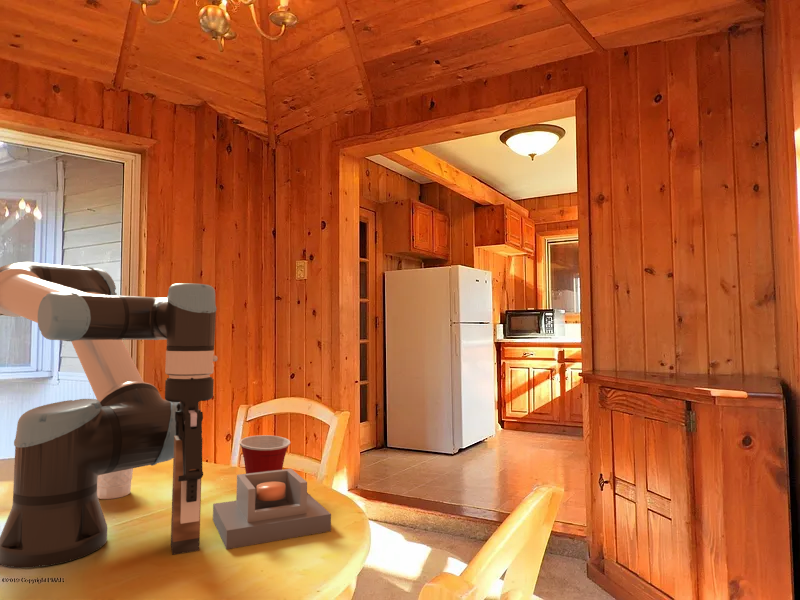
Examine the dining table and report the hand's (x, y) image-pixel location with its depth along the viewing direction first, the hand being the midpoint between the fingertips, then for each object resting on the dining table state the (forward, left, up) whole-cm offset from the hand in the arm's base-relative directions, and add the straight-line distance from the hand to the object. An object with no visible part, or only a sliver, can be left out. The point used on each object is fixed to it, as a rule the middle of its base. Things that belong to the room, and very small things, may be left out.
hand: (185, 510), depth 88 cm
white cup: (-11, +37, -6) cm, 39 cm away
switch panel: (+15, +4, -6) cm, 17 cm away
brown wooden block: (0, 0, -6) cm, 6 cm away
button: (+15, +4, -1) cm, 16 cm away
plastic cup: (+18, +22, -6) cm, 29 cm away
